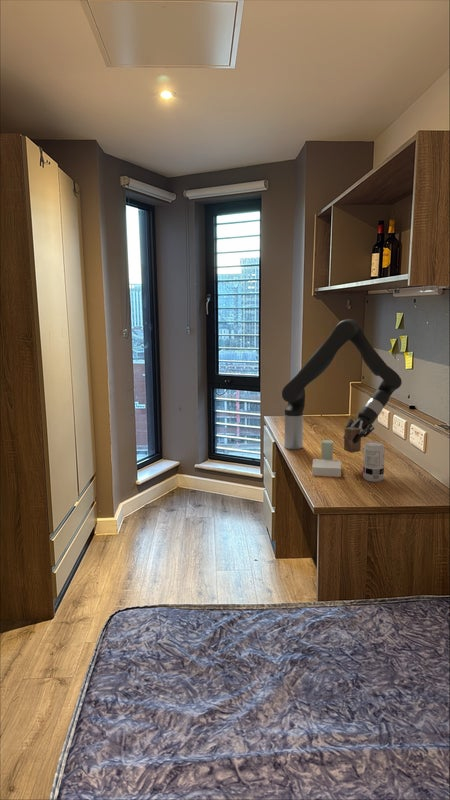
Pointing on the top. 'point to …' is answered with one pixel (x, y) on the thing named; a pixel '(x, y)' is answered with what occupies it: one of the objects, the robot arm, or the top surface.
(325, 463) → the base block
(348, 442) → the walnut block
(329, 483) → the top surface
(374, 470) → the supplement can
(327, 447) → the sage green block
